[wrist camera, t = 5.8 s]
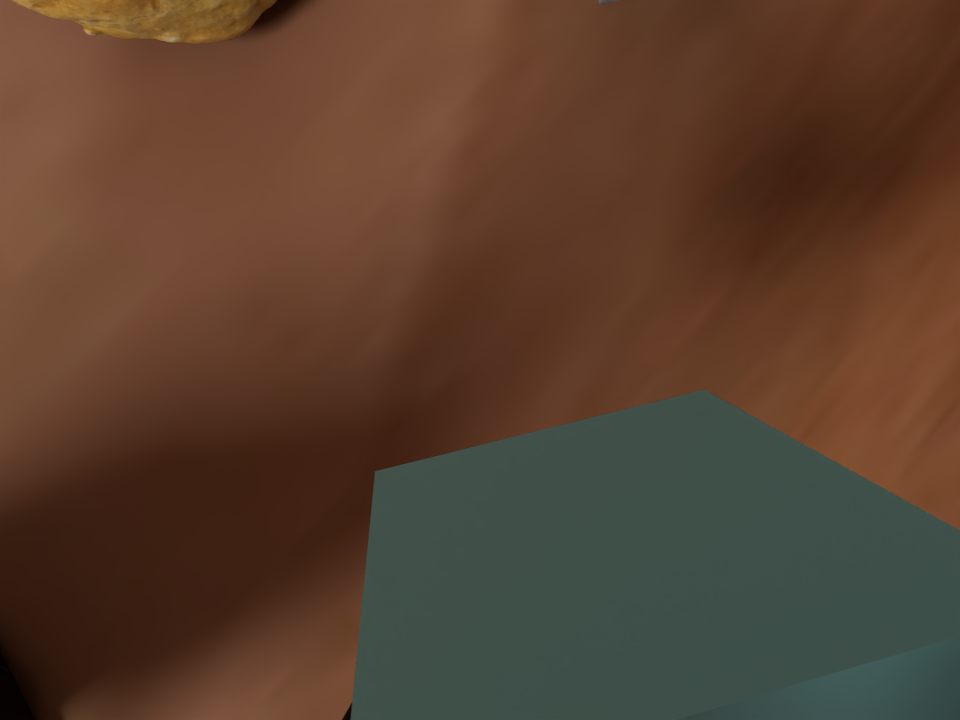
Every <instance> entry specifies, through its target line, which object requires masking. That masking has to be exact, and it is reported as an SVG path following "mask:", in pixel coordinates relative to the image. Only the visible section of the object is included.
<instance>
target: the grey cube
mask: <svg viewBox="0 0 960 720" xmlns="http://www.w3.org/2000/svg"><path fill="white" fill-rule="evenodd" d="M615 1H620V0H599V4H604V3H610V2H615Z"/></svg>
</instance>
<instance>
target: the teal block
mask: <svg viewBox="0 0 960 720" xmlns="http://www.w3.org/2000/svg"><path fill="white" fill-rule="evenodd" d="M351 720H960V530H958V529H956V528H954V527H952V526H951V525H949V524H947V523H945V522H943V521H942V520H940V519H938V518H936V517H934V516H933V515H931V514H929V513H927V512H925V511H923V510H922V509H920V508H918V507H916V506H914V505H913V504H911V503H909V502H907V501H905V500H903V499H902V498H900V497H898V496H896V495H894V494H893V493H891V492H889V491H887V490H885V489H884V488H882V487H880V486H878V485H876V484H874V483H873V482H871V481H869V480H867V479H865V478H864V477H862V476H860V475H858V474H856V473H855V472H853V471H851V470H849V469H847V468H845V467H844V466H842V465H840V464H838V463H836V462H835V461H833V460H831V459H829V458H827V457H825V456H824V455H822V454H820V453H818V452H816V451H815V450H813V449H811V448H809V447H807V446H806V445H804V444H802V443H800V442H798V441H796V440H795V439H793V438H791V437H789V436H787V435H786V434H784V433H782V432H780V431H778V430H776V429H775V428H773V427H771V426H769V425H767V424H766V423H764V422H762V421H760V420H758V419H757V418H755V417H753V416H751V415H749V414H747V413H746V412H744V411H742V410H740V409H738V408H737V407H735V406H733V405H731V404H729V403H727V402H726V401H724V400H722V399H720V398H718V397H717V396H715V395H713V394H711V393H709V392H708V391H706V390H701V391H697V392H693V393H689V394H685V395H681V396H677V397H673V398H669V399H665V400H661V401H657V402H653V403H649V404H645V405H641V406H637V407H632V408H628V409H624V410H620V411H616V412H612V413H608V414H604V415H600V416H596V417H592V418H588V419H584V420H580V421H576V422H572V423H568V424H564V425H560V426H556V427H552V428H548V429H544V430H540V431H536V432H531V433H527V434H523V435H519V436H515V437H511V438H507V439H503V440H499V441H495V442H491V443H487V444H483V445H479V446H475V447H471V448H467V449H463V450H459V451H455V452H451V453H447V454H443V455H439V456H435V457H430V458H426V459H422V460H418V461H414V462H410V463H406V464H402V465H398V466H394V467H390V468H386V469H382V470H378V471H375V477H374V487H373V497H372V508H371V518H370V528H369V538H368V548H367V558H366V568H365V579H364V589H363V599H362V609H361V619H360V629H359V640H358V650H357V660H356V670H355V680H354V690H353V700H352V711H351Z"/></svg>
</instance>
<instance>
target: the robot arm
mask: <svg viewBox="0 0 960 720" xmlns="http://www.w3.org/2000/svg"><path fill="white" fill-rule="evenodd" d="M351 711H352V703H351V705H350V707H349V708H348V710H347V712H346V714H345V715H344V717H343V719H342V720H351ZM0 720H35V719H34V717H33V715H32V713H31V711H30V709H29V707H28V705H27V703H26V701H25V699H24V697H23V695H22V693H21V691H20V689H19V687H18V685H17V683H16V681H15V679H14V677H13V675H12V673H11V671H10V669H9V667H8V666H7V664H6V662H5V660H4V658H3V656H2V654H1V652H0Z"/></svg>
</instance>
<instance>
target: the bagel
mask: <svg viewBox="0 0 960 720" xmlns="http://www.w3.org/2000/svg"><path fill="white" fill-rule="evenodd" d="M12 1H14V2H15V3H17V4H19V5H22V6H25V7H27V8H29V9H31V10H34V11H36V12H39V13H41V14H43V15H45V16H49V17H52V18H56V19H64V20H70V21H74V22H77V23H78V24H80V25H82V26H83V30H84V31H85V32H86V33H87V34H89V35H94V36H95V35H97V34H106V35H110V36H113V37H118V38H122V39H135V38H143V39H145V38H150V39H157V40H161V41H166V42H170V43H172V42H173V43H179V42H184V43H214V42H218V41H227V40H230V39H233V38H236V37H238V36H241V35H242V34H244V33H245V32H247V31H248V30H249V29H250V28H251V27H252V26H253V24H254V23H255V21H256V20H257V19H258V18H259V16H260V15H261V13H262V12H264V11H265V10H266V9H268V8H270V7H271V6H272V5H273V4H274V3H275V2H276V1H278V0H12Z"/></svg>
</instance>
